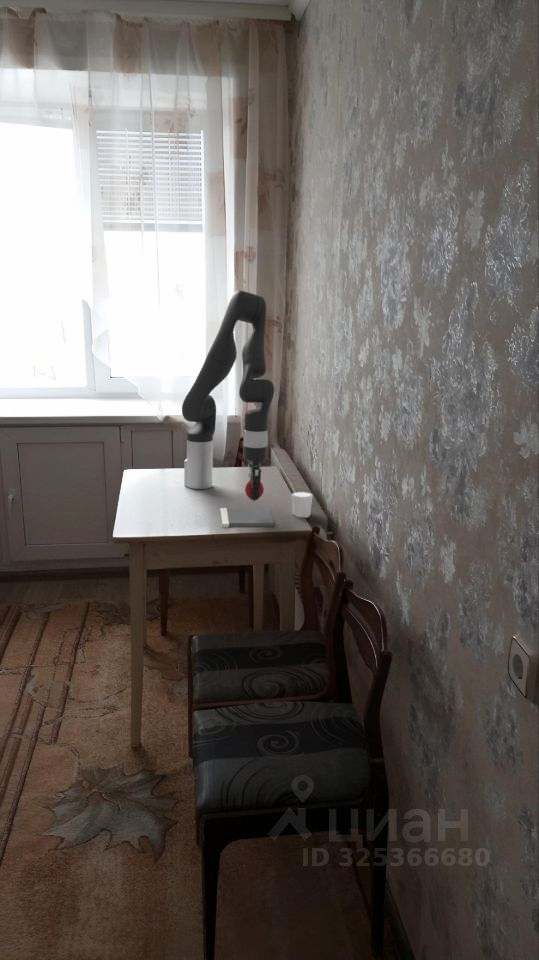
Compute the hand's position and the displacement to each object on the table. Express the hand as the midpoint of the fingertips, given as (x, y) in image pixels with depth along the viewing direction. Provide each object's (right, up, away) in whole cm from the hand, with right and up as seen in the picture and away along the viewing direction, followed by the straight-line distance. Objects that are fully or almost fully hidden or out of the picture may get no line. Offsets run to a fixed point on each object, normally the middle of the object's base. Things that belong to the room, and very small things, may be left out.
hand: (254, 496), depth 235 cm
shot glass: (+15, -7, +8) cm, 18 cm away
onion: (0, -2, 0) cm, 2 cm away
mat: (-2, -7, +2) cm, 8 cm away
